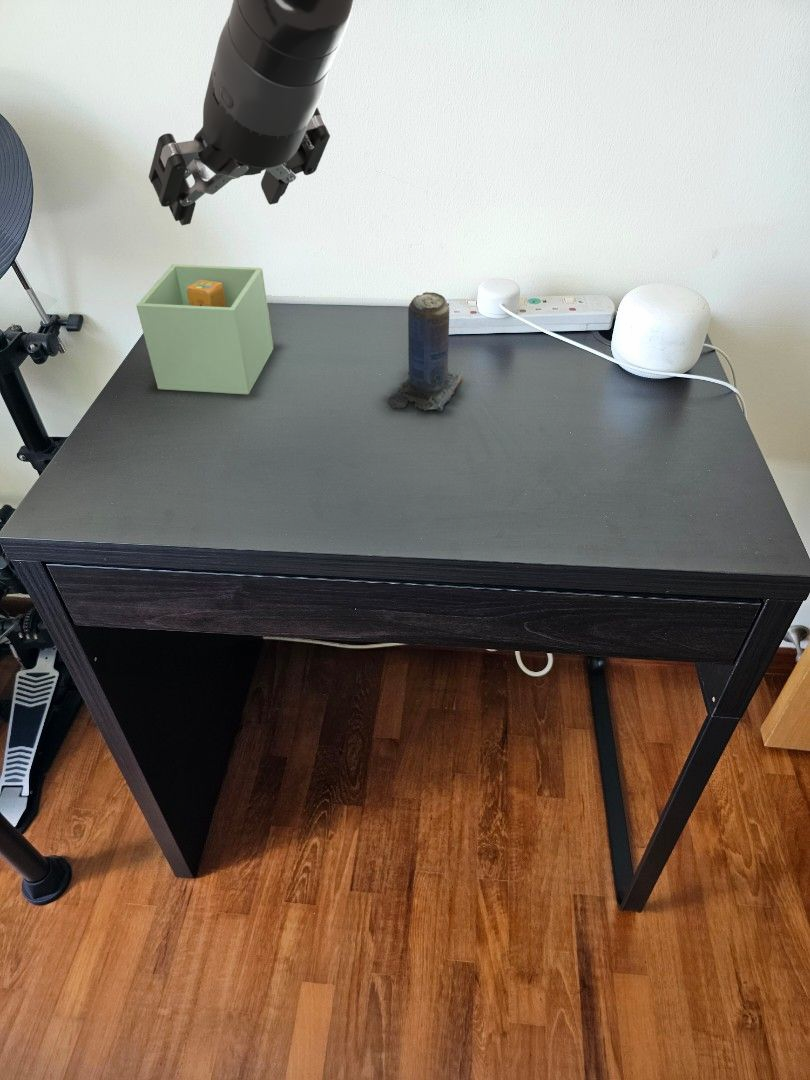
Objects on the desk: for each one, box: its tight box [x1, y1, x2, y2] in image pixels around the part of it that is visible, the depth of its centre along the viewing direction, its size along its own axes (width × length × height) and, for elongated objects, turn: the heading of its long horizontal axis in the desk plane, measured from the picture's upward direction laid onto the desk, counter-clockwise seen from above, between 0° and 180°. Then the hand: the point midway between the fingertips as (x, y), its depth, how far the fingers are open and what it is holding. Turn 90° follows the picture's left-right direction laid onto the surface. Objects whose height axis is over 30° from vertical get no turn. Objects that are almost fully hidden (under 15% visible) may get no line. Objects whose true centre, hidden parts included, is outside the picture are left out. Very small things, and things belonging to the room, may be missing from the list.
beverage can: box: [387, 291, 463, 413], centre depth 88 cm, size 9×8×12 cm
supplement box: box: [187, 280, 226, 307], centre depth 94 cm, size 3×3×10 cm
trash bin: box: [135, 263, 275, 395], centre depth 94 cm, size 11×11×11 cm
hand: (225, 204), depth 71 cm, fingers open, 8 cm apart
